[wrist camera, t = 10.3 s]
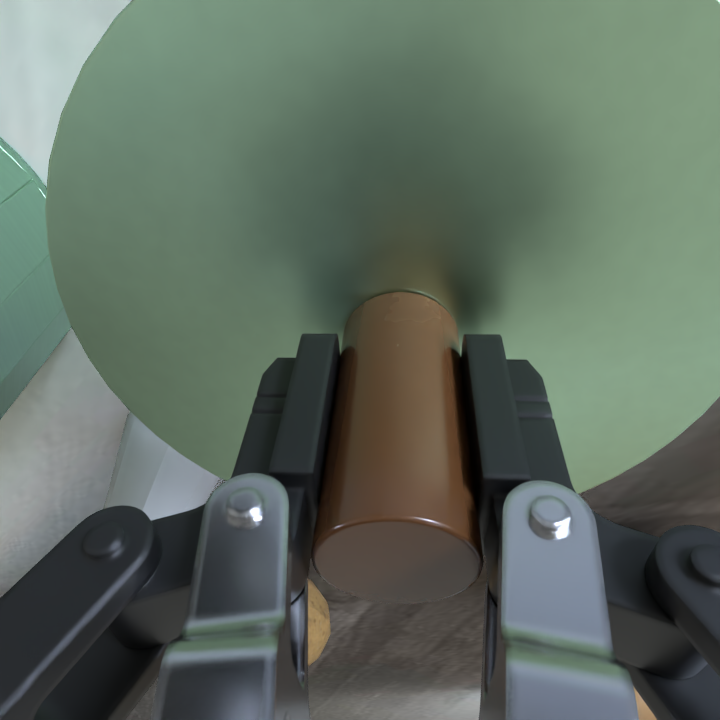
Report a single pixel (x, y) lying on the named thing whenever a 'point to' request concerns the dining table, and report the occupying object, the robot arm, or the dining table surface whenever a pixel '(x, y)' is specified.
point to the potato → (317, 622)
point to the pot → (25, 279)
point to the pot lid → (398, 238)
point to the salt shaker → (155, 475)
